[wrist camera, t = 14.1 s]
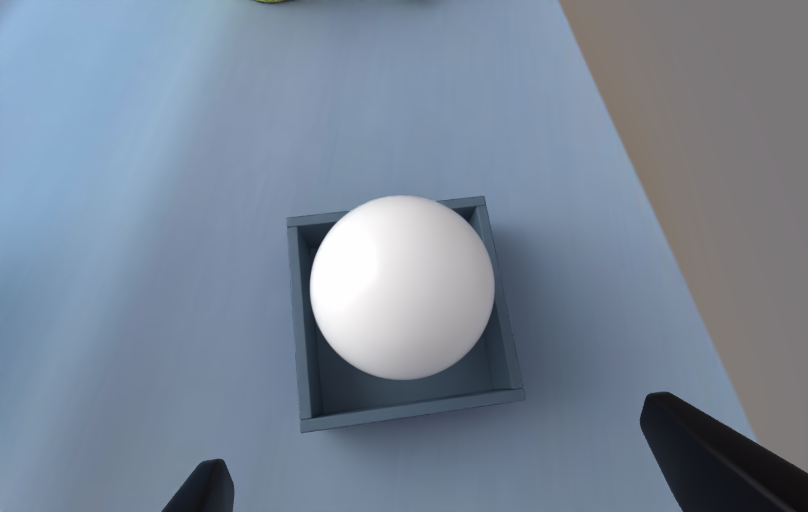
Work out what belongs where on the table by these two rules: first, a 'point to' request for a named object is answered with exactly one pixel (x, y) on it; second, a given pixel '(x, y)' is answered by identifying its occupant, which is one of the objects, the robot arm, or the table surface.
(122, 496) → the table surface
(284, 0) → the plant pot
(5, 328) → the table surface
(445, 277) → the lightbulb
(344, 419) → the case
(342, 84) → the table surface
